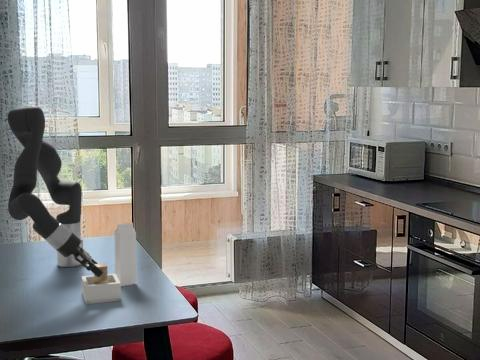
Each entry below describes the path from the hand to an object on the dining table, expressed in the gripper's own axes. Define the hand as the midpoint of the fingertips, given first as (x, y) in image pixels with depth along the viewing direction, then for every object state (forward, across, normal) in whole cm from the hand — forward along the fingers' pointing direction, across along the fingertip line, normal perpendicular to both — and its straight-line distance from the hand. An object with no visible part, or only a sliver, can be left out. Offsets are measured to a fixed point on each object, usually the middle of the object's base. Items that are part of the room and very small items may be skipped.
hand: (99, 271), depth 203 cm
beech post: (+6, 0, +5) cm, 8 cm away
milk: (+14, +13, -1) cm, 19 cm away
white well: (+7, 0, +6) cm, 9 cm away
